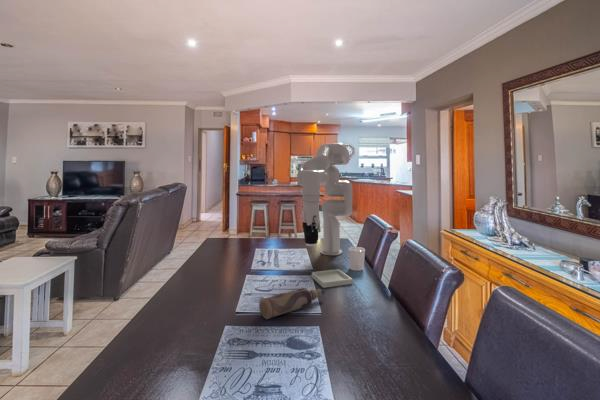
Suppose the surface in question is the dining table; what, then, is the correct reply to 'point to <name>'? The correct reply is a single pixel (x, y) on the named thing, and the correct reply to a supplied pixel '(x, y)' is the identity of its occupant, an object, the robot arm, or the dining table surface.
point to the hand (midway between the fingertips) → (311, 238)
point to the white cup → (356, 258)
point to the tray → (331, 278)
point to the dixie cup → (308, 234)
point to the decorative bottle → (288, 302)
